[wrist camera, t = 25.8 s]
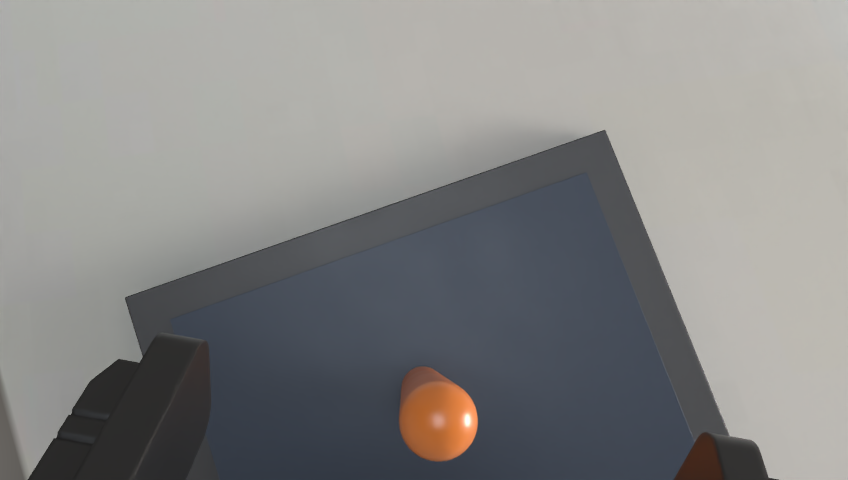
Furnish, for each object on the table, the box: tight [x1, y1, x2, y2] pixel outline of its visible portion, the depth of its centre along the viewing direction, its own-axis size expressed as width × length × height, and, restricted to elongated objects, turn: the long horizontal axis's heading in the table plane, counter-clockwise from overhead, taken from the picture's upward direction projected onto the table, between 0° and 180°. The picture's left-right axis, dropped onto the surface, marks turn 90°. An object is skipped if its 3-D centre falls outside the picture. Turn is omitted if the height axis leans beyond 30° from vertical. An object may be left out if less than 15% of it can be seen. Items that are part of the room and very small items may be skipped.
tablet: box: [125, 130, 730, 480], centre depth 28 cm, size 20×18×1 cm
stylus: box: [399, 366, 478, 462], centre depth 21 cm, size 2×2×14 cm
